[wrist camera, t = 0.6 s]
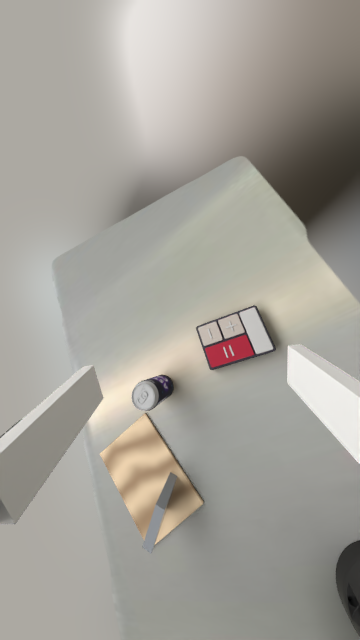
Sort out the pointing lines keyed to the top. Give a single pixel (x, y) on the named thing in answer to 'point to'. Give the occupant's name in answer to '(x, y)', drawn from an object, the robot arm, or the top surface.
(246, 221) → the top surface
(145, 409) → the beverage can
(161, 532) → the cork mat
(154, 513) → the slate tile
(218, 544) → the top surface
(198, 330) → the calculator
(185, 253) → the top surface
